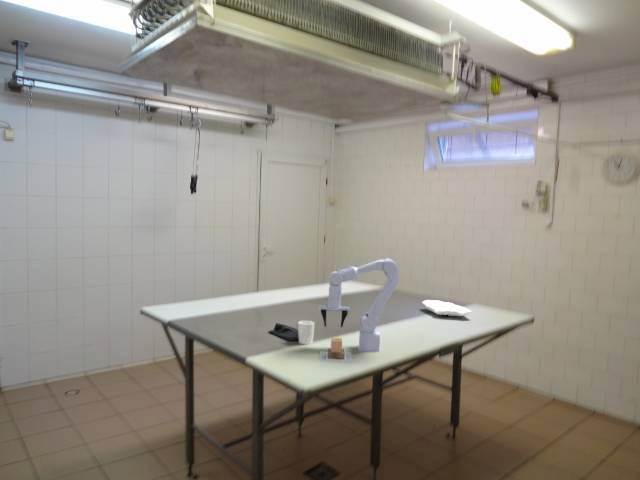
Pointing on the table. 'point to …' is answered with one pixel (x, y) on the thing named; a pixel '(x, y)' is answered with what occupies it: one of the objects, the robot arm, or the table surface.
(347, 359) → the blueprint board
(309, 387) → the table surface
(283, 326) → the dark slate chunk
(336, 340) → the top block
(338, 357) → the base block
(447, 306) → the crumpled cloth
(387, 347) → the table surface
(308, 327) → the white cup
